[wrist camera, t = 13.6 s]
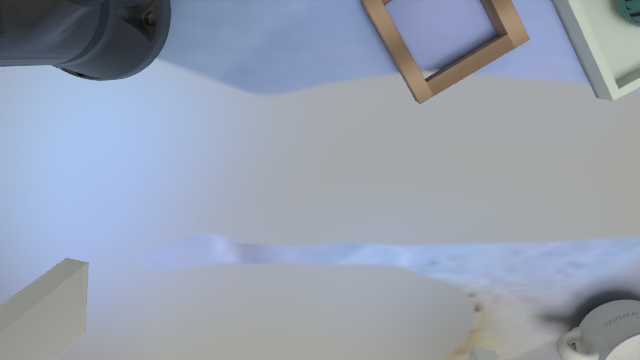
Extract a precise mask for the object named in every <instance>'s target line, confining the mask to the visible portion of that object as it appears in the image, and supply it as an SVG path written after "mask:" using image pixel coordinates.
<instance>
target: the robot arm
mask: <svg viewBox="0 0 640 360" xmlns="http://www.w3.org/2000/svg"><path fill="white" fill-rule="evenodd" d="M169 25H170V1H169V0H0V67H3V66H31V65H52V66H54V67H56V68H60V69H61V70H63V71H65V72H67V73H69V74H72V75H74V76H77V77H80V78H84V79H89V80H98V81H105V80H117V79H123V78H127V77H130V76H132V75H135V74H137V73H139V72H140V71H142V70H143V69H145V68H146V67H147V66H149V65H150V64H151V63H152V62H153V61H154V59H155V58H156V57H157V56H158V54H159V53H160V51H161V49H162V47H163V45H164V43H165V41H166V38H167V35H168V31H169ZM88 265H89V263H88V262H83V261H79V260H74V259H69V258H65V259H64V260H63V261H62V262H60V263H59V264H57V265H56V266H54V267H53V268H52V269H50V270H49V271H47V272H46V273H45V274H43V275H42V276H40V277H39V278H38V279H36V280H35V281H33V282H32V283H31V284H29V285H28V286H26V287H25V288H24V289H22V290H21V291H19V292H18V293H17V294H15V295H14V296H13V297H11V298H10V299H8V300H7V301H6V302H4V303H3V304H1V305H0V360H58V359H59V358H60V357H61V356H62V355H63V354H64V353H65V352H66V351H67V350H68V349H69V348H70V347H71V346H72V345H73V344H74V343H75V342H76V340H78V338H79V337H80V336H81V335H82V334H83V333H84V332H85V331H86V308H87V287H88ZM468 360H500V359H499V357H498V355H497V353H496V351H492V350H488V349H483V348H478V347H474V346H473V348H472V351H471V353H470V356H469V359H468Z"/></svg>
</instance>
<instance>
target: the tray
mask: <svg viewBox="0 0 640 360" xmlns="http://www.w3.org/2000/svg"><path fill="white" fill-rule="evenodd" d="M552 2H553V4H554V6H555V9H556V11H557V13H558V15H559V17H560V19H561V22H562V24H563V26H564V28H565V30H566V32H567V35H568V37H569V39H570V41H571V43H572V45H573V48H574V50H575V52H576V54H577V56H578V58H579V61H580V63H581V65H582V67H583V69H584V71H585V74H586V76H587V78H588V80H589V82H590V84H591V87H592V89H593V91H594V93H595V95H596V97H597V98H600V99H606V100H612V101H614V100H616V99H618V98H620V97H622V96H624V95H625V94H627V93H629V92H631V91H633V90H635V89H637V88H639V87H640V27H639V28H638V27H636V25H634V24H633V25H632V24H630V23H629V22H628V21H627V20H626V19H625V18H624V17H623V16H622V14H621V13H620V11H619V8H618V4H617V0H552Z"/></svg>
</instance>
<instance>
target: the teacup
mask: <svg viewBox="0 0 640 360" xmlns="http://www.w3.org/2000/svg"><path fill="white" fill-rule="evenodd" d="M571 343H576V350H577V351H575V350H573V349H572V348H571V347H570V346H568V344H571ZM556 347H557V351H558V353H559V354H560V356H561V357H562V358H563V359H565V360H640V301H637V300H616V301H612V302H608V303H605V304H603V305H601V306H599V307H597V308H595V309H594V310H592V311H591V312H590V313H589V314H587V315H586V316H585V318H584V319H583V320H582V322H581V323H580V325H579V327H575V328H573V329H572V330H571V331H569V332H567V333H564V334H562V335H561V336H560V337H559V339H558V341H557V345H556Z"/></svg>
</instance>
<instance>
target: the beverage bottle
mask: <svg viewBox="0 0 640 360" xmlns="http://www.w3.org/2000/svg"><path fill="white" fill-rule="evenodd" d="M617 4H618V8H619V11H620V13H621V14H622V16H623V17H624V18H625V19H626V20H627V21H628V22H629V23H630V24H632V25H633V24H634V25H636V27H638V28H639V27H640V0H617Z"/></svg>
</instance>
